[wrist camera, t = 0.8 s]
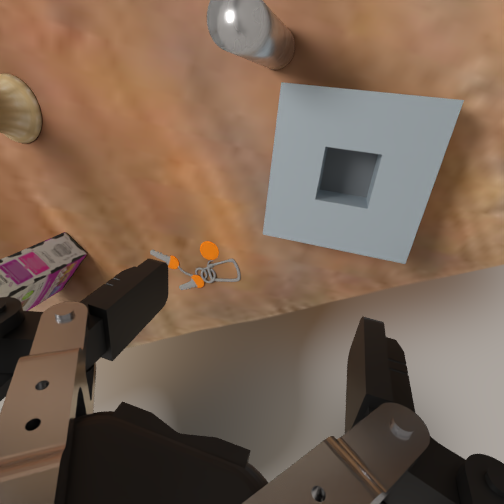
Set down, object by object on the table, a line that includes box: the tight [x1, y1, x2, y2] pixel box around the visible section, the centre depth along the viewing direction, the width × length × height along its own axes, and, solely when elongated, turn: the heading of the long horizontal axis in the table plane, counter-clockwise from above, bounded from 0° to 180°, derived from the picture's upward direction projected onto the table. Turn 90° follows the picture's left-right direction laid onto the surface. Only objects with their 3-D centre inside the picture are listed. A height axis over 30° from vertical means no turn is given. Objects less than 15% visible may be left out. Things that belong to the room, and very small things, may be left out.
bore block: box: [263, 82, 464, 264], centre depth 30 cm, size 14×14×5 cm
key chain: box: [150, 241, 240, 290], centre depth 43 cm, size 13×7×1 cm, turn 104°
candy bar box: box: [0, 232, 87, 311], centre depth 44 cm, size 11×5×16 cm, turn 137°
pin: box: [207, 0, 295, 70], centre depth 25 cm, size 4×4×12 cm
